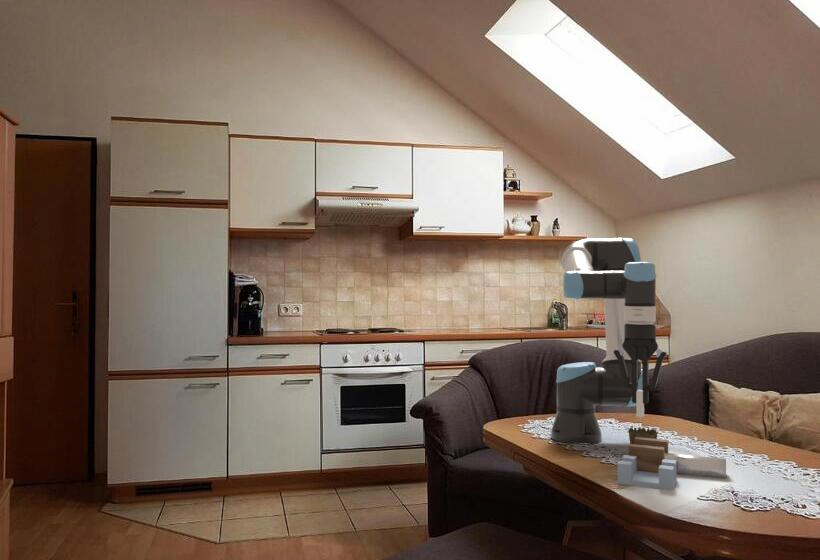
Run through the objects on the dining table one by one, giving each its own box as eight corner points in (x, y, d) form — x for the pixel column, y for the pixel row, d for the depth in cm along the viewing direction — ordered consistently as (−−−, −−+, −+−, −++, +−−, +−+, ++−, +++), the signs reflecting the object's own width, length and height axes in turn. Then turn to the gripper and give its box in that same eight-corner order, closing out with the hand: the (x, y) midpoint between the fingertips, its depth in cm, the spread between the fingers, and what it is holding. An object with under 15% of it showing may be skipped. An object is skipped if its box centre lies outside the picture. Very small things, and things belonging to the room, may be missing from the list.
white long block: (656, 471, 167) (656, 450, 168) (725, 478, 160) (725, 457, 161) (654, 473, 163) (654, 453, 163) (726, 481, 156) (725, 460, 157)
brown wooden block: (635, 463, 172) (635, 436, 173) (668, 467, 169) (668, 440, 169) (629, 474, 162) (628, 446, 162) (663, 478, 159) (663, 449, 159)
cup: (660, 463, 172) (659, 433, 173) (630, 462, 174) (630, 432, 174) (655, 456, 180) (655, 427, 180) (627, 455, 181) (626, 426, 181)
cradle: (623, 475, 162) (623, 454, 162) (676, 481, 156) (676, 460, 156) (617, 484, 154) (617, 463, 154) (672, 492, 148) (672, 469, 148)
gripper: (610, 323, 167) (611, 416, 167) (665, 324, 161) (666, 421, 161) (615, 321, 173) (616, 411, 173) (668, 322, 167) (669, 415, 167)
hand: (640, 416), depth 167 cm, fingers closed
